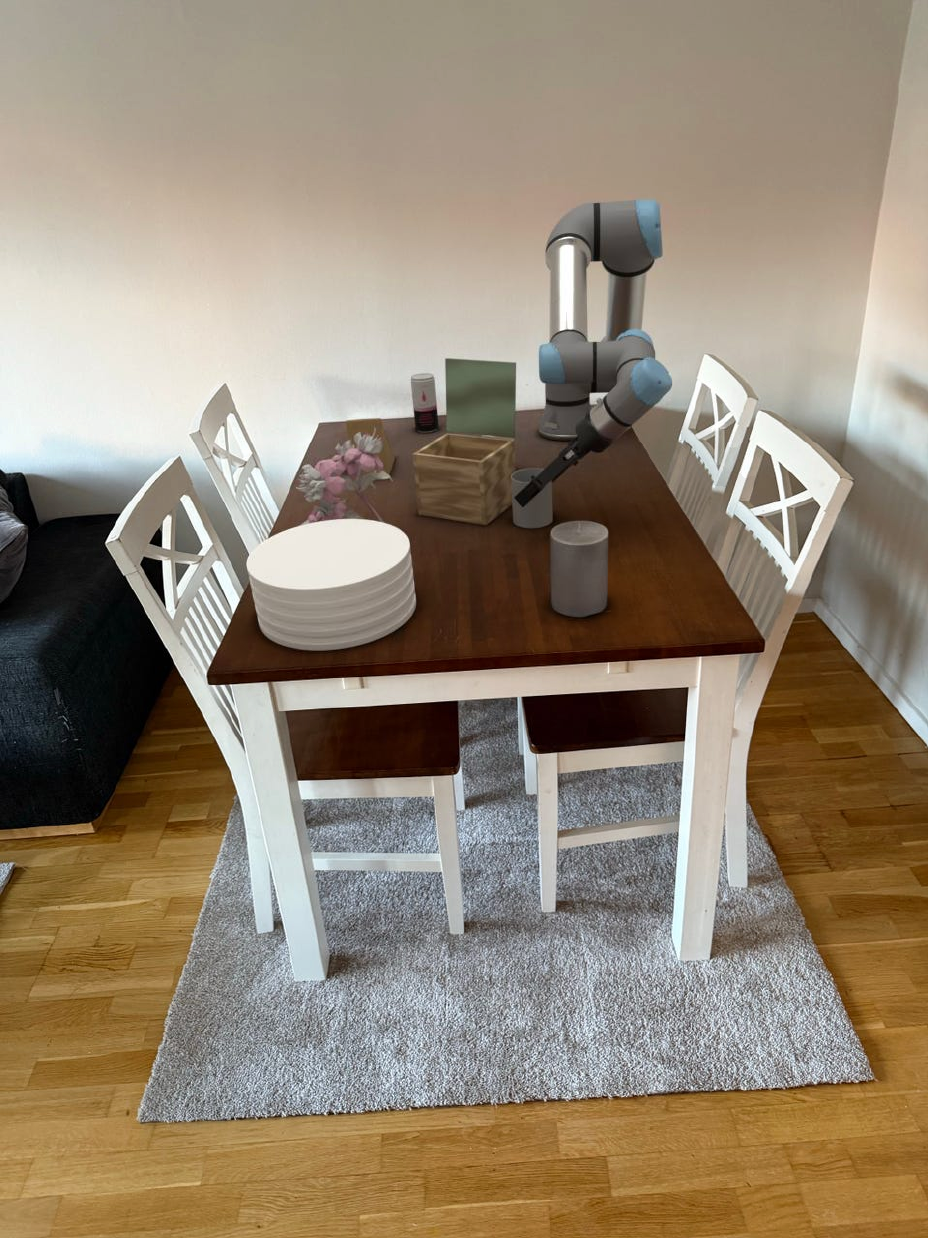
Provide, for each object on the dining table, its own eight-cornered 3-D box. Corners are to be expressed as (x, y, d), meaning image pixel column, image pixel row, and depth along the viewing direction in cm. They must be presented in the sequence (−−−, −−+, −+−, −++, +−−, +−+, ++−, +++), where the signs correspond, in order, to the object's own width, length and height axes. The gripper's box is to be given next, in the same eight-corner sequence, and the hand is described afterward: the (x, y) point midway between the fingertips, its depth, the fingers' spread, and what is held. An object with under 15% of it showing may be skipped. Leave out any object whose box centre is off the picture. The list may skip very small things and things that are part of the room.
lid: (514, 362, 180) (516, 362, 181) (445, 358, 188) (446, 357, 188) (513, 438, 186) (515, 437, 187) (446, 431, 194) (448, 430, 195)
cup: (557, 513, 186) (556, 469, 181) (547, 529, 179) (546, 483, 174) (519, 511, 188) (517, 467, 183) (508, 526, 182) (506, 481, 177)
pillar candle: (560, 588, 156) (559, 510, 149) (613, 595, 153) (615, 516, 145) (543, 613, 148) (541, 533, 141) (599, 621, 145) (600, 539, 137)
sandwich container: (396, 457, 225) (389, 399, 218) (388, 478, 212) (381, 418, 204) (363, 458, 226) (356, 401, 218) (353, 479, 212) (345, 419, 205)
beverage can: (441, 426, 246) (436, 372, 239) (435, 433, 240) (430, 378, 233) (419, 425, 247) (414, 372, 240) (412, 433, 242) (407, 379, 235)
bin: (486, 525, 183) (482, 462, 176) (418, 514, 191) (412, 453, 184) (517, 500, 194) (514, 439, 187) (452, 491, 201) (447, 432, 195)
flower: (370, 501, 195) (309, 413, 179) (437, 514, 180) (376, 420, 164) (313, 565, 188) (244, 480, 172) (377, 585, 173) (308, 494, 157)
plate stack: (417, 642, 143) (411, 580, 137) (248, 658, 142) (234, 596, 137) (414, 567, 167) (408, 512, 162) (269, 581, 167) (258, 526, 161)
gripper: (612, 393, 175) (546, 457, 189) (563, 430, 156) (493, 497, 171) (637, 421, 175) (569, 483, 189) (590, 461, 157) (519, 526, 171)
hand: (533, 490), depth 180 cm, fingers open, 13 cm apart
